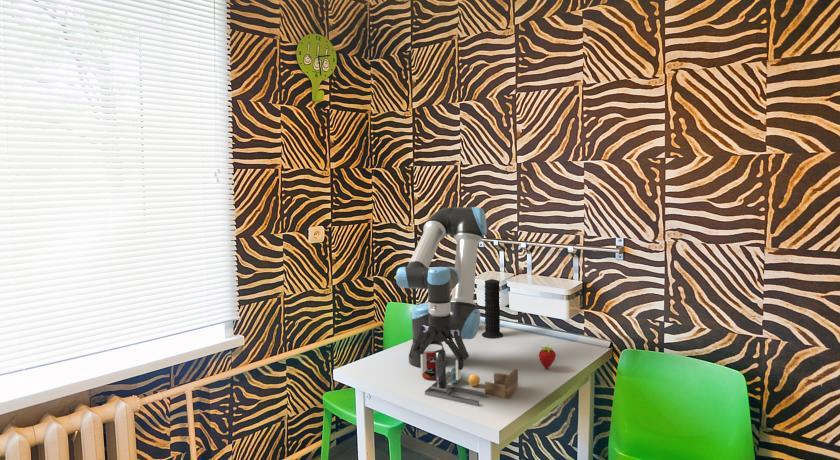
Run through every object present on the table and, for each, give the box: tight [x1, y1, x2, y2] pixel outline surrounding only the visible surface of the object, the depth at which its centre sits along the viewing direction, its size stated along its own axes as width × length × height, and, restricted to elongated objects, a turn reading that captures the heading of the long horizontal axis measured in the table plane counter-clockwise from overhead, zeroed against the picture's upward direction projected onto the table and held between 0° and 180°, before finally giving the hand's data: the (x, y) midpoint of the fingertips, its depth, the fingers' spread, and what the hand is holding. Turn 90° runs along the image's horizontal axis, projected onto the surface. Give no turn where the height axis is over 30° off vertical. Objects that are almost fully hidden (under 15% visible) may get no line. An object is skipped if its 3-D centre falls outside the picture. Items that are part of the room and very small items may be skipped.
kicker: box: [431, 349, 462, 395], centre depth 170 cm, size 6×14×14 cm, turn 151°
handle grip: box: [481, 278, 504, 339], centre depth 226 cm, size 10×26×10 cm
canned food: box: [421, 344, 443, 381], centre depth 180 cm, size 8×8×11 cm
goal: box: [484, 368, 519, 400], centre depth 166 cm, size 8×10×6 cm
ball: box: [468, 373, 481, 387], centre depth 171 cm, size 4×4×4 cm
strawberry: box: [538, 343, 557, 370], centre depth 184 cm, size 6×8×10 cm
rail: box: [424, 385, 488, 407], centre depth 164 cm, size 19×8×1 cm, turn 61°
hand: (440, 375), depth 166 cm, fingers open, 12 cm apart
